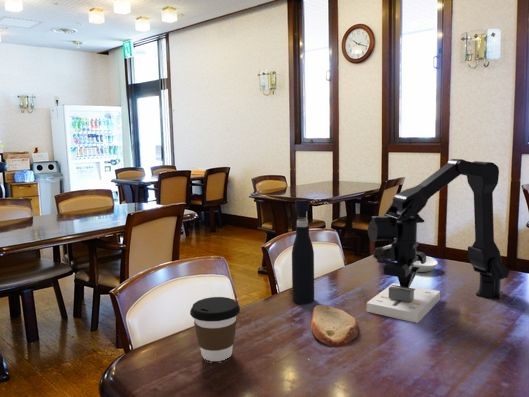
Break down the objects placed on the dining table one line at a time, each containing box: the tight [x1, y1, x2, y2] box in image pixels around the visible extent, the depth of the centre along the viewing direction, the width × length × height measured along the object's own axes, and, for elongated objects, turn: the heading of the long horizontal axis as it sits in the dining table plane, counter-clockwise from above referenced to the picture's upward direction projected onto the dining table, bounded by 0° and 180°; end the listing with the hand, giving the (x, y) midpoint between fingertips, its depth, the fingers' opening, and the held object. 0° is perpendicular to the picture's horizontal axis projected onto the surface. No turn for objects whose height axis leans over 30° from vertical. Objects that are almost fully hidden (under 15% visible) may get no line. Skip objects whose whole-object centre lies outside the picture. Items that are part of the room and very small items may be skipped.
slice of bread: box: [310, 304, 359, 348], centre depth 116 cm, size 18×18×4 cm
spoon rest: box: [375, 244, 439, 273], centre depth 166 cm, size 24×12×7 cm, turn 39°
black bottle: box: [291, 198, 315, 305], centre depth 133 cm, size 6×6×30 cm
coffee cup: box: [189, 296, 241, 361], centre depth 101 cm, size 11×11×12 cm
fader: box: [388, 285, 414, 302], centre depth 126 cm, size 3×6×3 cm, turn 54°
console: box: [365, 282, 441, 324], centre depth 129 cm, size 20×14×3 cm
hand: (404, 292), depth 129 cm, fingers closed
